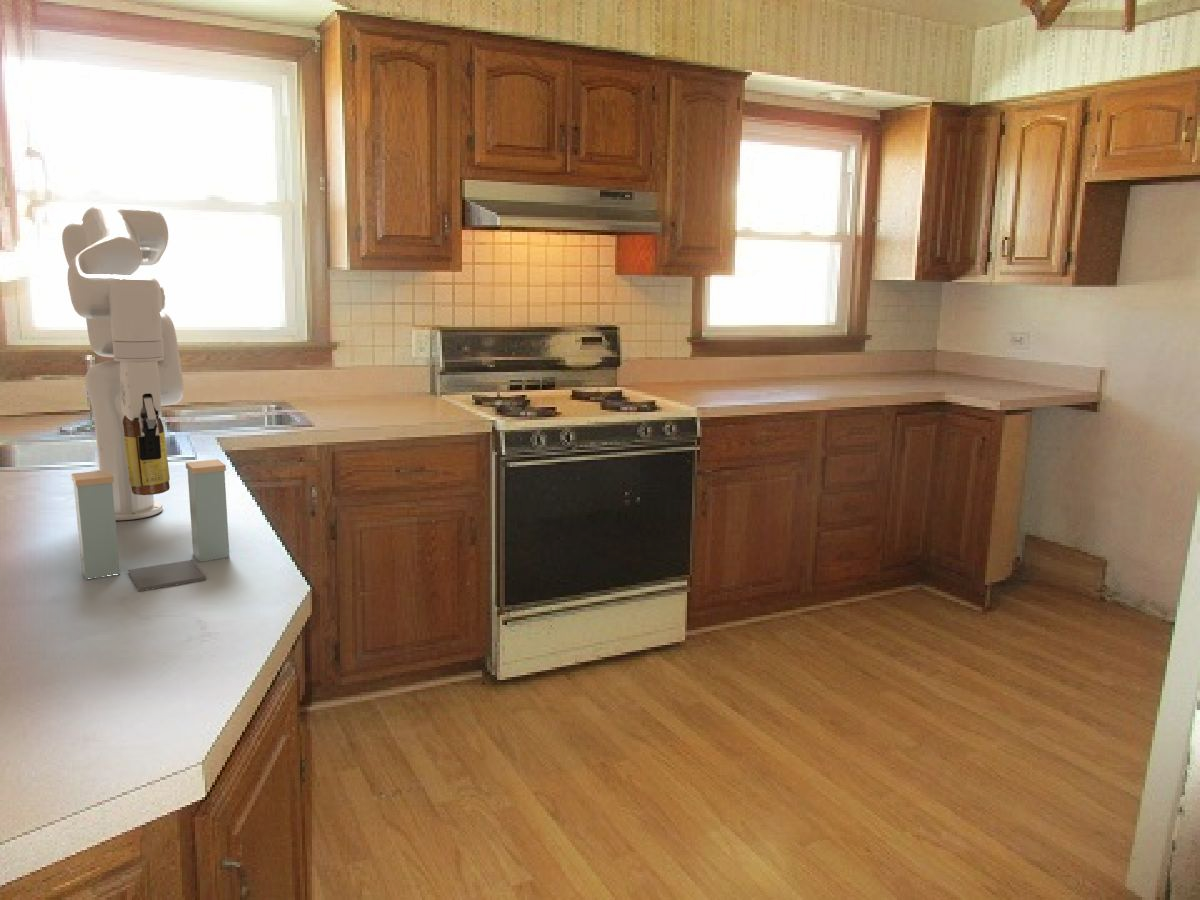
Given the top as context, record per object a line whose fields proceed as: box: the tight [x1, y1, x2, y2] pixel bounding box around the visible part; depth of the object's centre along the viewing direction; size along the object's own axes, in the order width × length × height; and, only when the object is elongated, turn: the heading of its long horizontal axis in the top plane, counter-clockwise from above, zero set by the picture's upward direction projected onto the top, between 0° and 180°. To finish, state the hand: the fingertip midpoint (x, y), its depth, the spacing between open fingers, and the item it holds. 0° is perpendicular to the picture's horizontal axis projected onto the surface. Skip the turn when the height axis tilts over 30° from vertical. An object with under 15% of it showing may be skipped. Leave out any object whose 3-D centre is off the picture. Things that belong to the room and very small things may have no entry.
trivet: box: [127, 559, 207, 592], centre depth 147 cm, size 10×10×1 cm
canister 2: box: [185, 458, 230, 562], centre depth 156 cm, size 5×5×17 cm
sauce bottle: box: [123, 412, 171, 496], centre depth 151 cm, size 7×6×20 cm
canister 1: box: [70, 470, 121, 580], centre depth 146 cm, size 5×5×17 cm
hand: (146, 454), depth 151 cm, fingers closed on sauce bottle, 6 cm apart
